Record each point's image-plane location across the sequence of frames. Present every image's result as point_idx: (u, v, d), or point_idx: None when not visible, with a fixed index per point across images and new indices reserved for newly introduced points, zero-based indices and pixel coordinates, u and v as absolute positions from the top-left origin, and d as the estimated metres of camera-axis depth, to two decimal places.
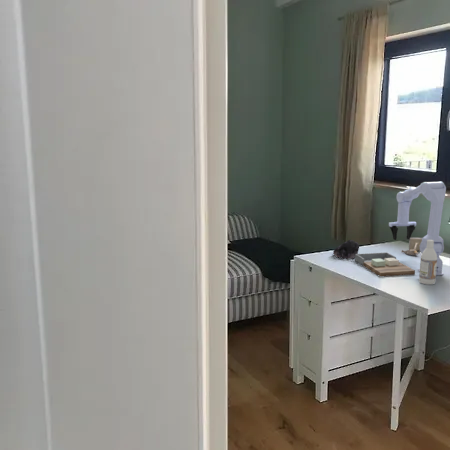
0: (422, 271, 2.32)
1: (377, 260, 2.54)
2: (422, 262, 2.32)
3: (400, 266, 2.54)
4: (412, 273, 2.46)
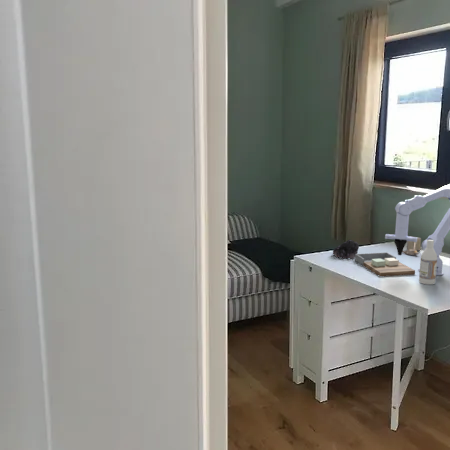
0: (422, 271, 2.32)
1: (377, 260, 2.54)
2: (422, 262, 2.32)
3: (400, 266, 2.54)
4: (412, 273, 2.46)
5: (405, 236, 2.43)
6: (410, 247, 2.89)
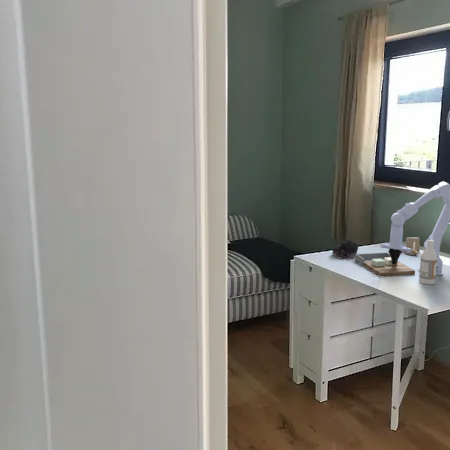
0: (422, 271, 2.32)
1: (377, 260, 2.54)
2: (422, 262, 2.32)
3: (400, 266, 2.54)
4: (412, 273, 2.46)
5: (398, 246, 2.49)
6: (409, 247, 2.89)
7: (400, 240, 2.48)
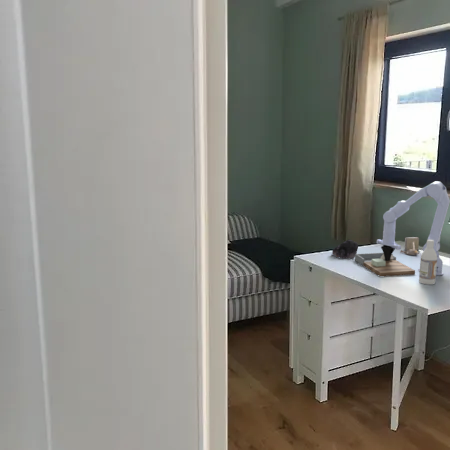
0: (422, 271, 2.32)
1: (377, 260, 2.54)
2: (422, 262, 2.32)
3: (400, 266, 2.54)
4: (412, 273, 2.46)
5: (389, 243, 2.56)
6: (408, 247, 2.90)
7: (391, 237, 2.55)
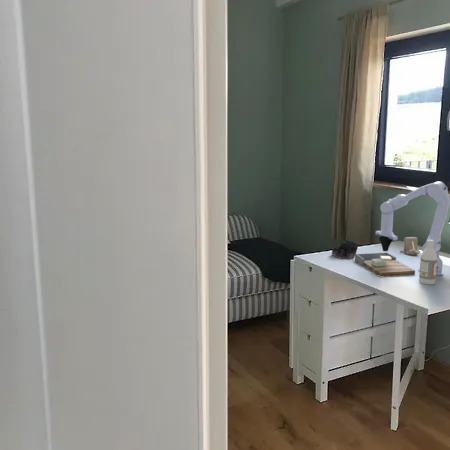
0: (422, 271, 2.32)
1: (377, 260, 2.54)
2: (422, 262, 2.32)
3: (400, 266, 2.54)
4: (412, 273, 2.46)
5: (386, 233, 2.58)
6: (407, 247, 2.90)
7: (388, 227, 2.57)
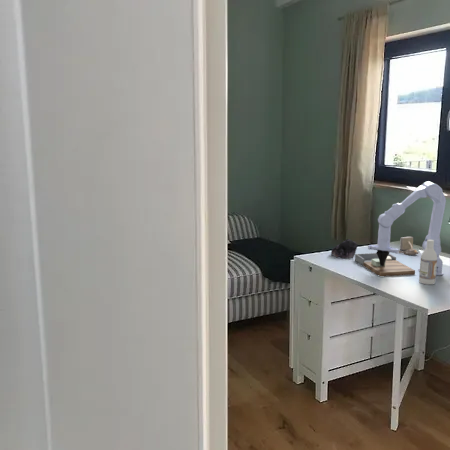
0: (422, 271, 2.32)
1: (377, 260, 2.54)
2: (422, 262, 2.32)
3: (400, 266, 2.54)
4: (412, 273, 2.46)
5: (387, 247, 2.47)
6: (404, 247, 2.90)
7: (388, 241, 2.46)
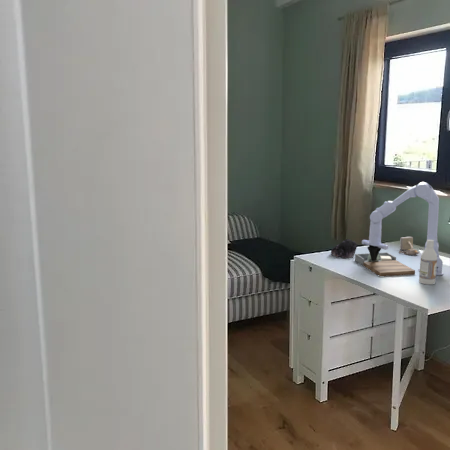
0: (422, 271, 2.32)
1: None
2: (422, 262, 2.32)
3: (400, 266, 2.54)
4: (412, 273, 2.46)
5: (376, 243, 2.55)
6: (404, 247, 2.90)
7: (378, 237, 2.55)
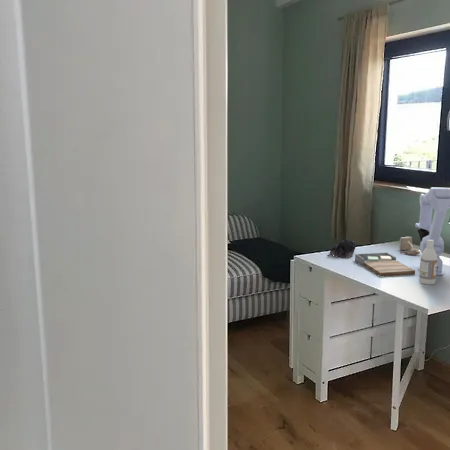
0: (422, 271, 2.32)
1: (370, 258, 2.64)
2: (422, 262, 2.32)
3: (400, 266, 2.54)
4: (412, 273, 2.46)
5: (424, 226, 2.59)
6: (404, 247, 2.90)
7: (426, 220, 2.58)
